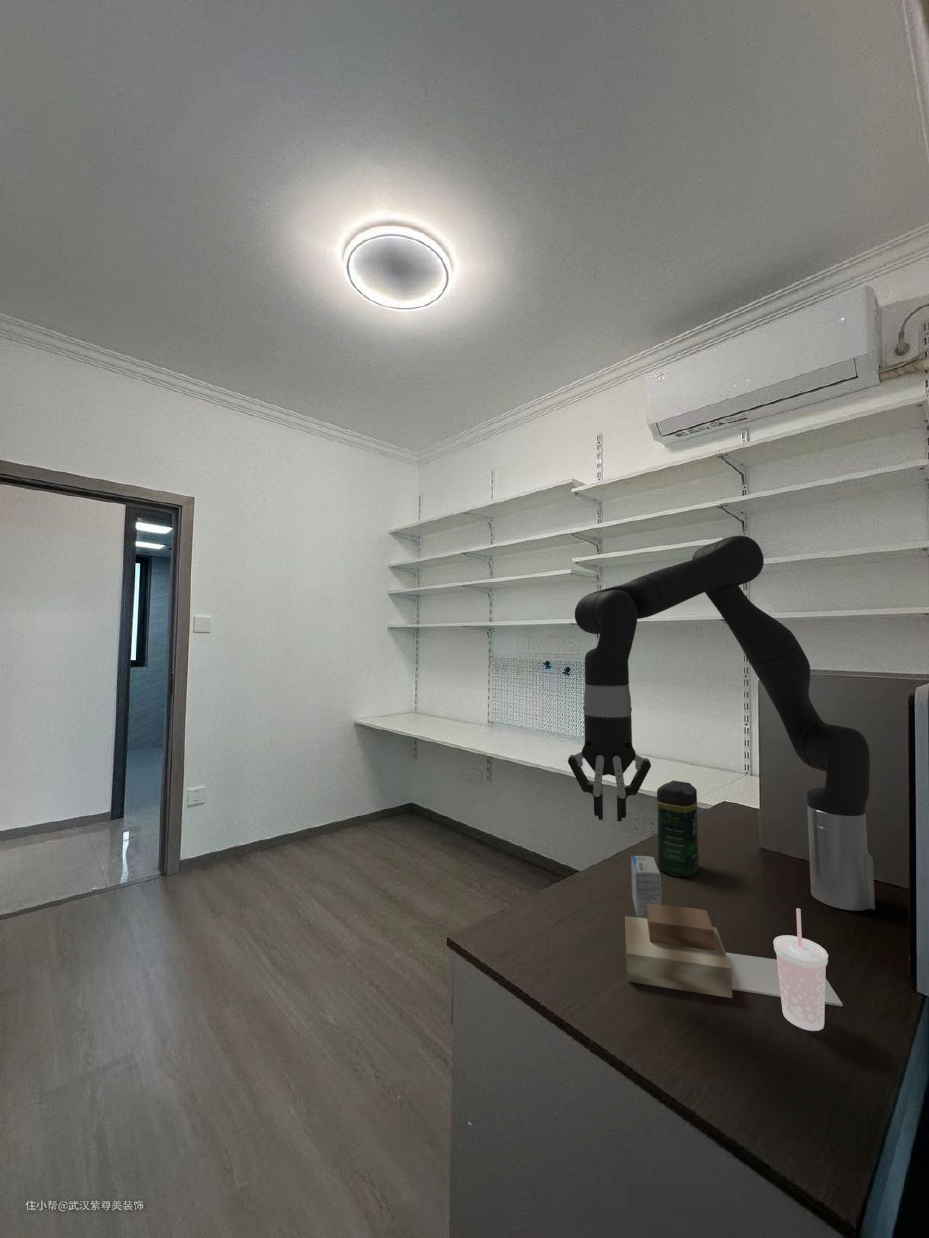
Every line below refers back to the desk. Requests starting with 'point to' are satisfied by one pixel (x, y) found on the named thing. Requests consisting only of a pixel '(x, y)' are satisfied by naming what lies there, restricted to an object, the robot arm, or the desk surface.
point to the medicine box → (645, 884)
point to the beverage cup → (801, 979)
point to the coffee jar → (677, 828)
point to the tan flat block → (675, 963)
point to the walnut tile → (680, 926)
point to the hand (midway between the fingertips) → (609, 818)
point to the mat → (764, 977)
